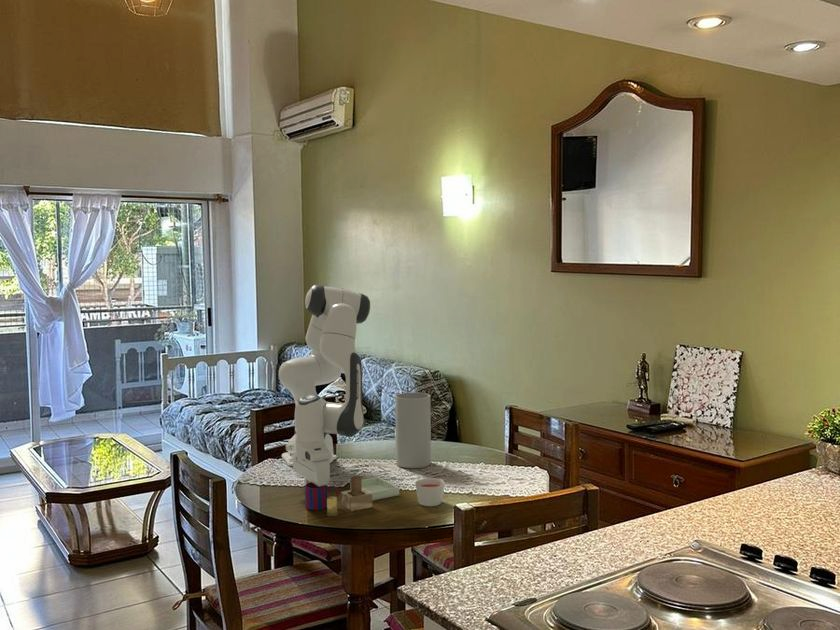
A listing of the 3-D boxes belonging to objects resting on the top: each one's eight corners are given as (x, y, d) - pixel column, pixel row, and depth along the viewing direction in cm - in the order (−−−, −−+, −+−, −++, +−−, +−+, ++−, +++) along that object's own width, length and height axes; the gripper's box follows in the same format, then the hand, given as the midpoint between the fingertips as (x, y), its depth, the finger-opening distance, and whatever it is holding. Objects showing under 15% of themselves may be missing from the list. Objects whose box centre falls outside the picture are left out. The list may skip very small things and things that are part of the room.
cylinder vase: (420, 471, 268) (419, 400, 266) (389, 466, 275) (388, 397, 273) (437, 462, 279) (436, 394, 277) (407, 457, 285) (406, 391, 283)
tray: (350, 489, 248) (350, 482, 248) (378, 484, 254) (378, 476, 253) (370, 500, 237) (369, 493, 237) (399, 494, 242) (399, 487, 242)
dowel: (349, 505, 233) (348, 476, 232) (358, 503, 235) (358, 474, 234) (354, 508, 230) (353, 479, 229) (363, 506, 232) (363, 477, 231)
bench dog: (325, 514, 225) (325, 497, 225) (334, 512, 227) (334, 495, 226) (329, 517, 223) (329, 500, 222) (339, 515, 224) (338, 498, 224)
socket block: (340, 504, 234) (340, 492, 233) (361, 500, 237) (361, 488, 237) (351, 511, 228) (351, 498, 227) (372, 507, 231) (372, 494, 231)
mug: (309, 502, 236) (308, 480, 235) (340, 504, 234) (340, 482, 234) (302, 509, 229) (301, 487, 229) (334, 511, 228) (334, 489, 227)
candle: (422, 509, 229) (422, 488, 228) (410, 500, 237) (410, 480, 236) (449, 505, 232) (449, 484, 232) (437, 496, 240) (437, 476, 240)
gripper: (287, 443, 243) (288, 486, 244) (313, 457, 226) (314, 503, 227) (305, 440, 246) (307, 482, 248) (333, 454, 229) (334, 499, 230)
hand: (311, 492), depth 237 cm, fingers closed
